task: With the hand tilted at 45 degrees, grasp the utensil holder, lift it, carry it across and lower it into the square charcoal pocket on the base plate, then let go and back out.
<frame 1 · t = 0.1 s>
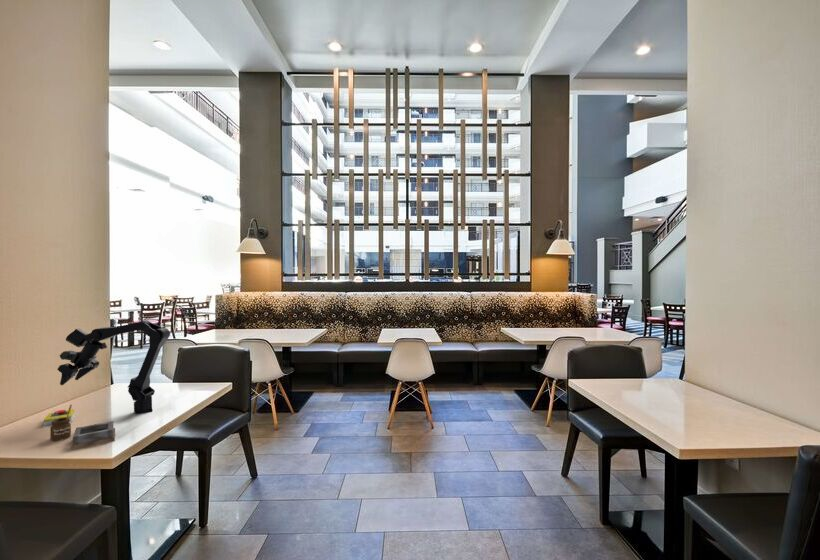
hand: (68, 382, 178), 15 cm above the table, tool tilted 35°, fingers open, 9 cm apart
emergency button: (59, 422, 171), on the table
pocket plate: (94, 439, 150), on the table
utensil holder: (61, 438, 152), on the table
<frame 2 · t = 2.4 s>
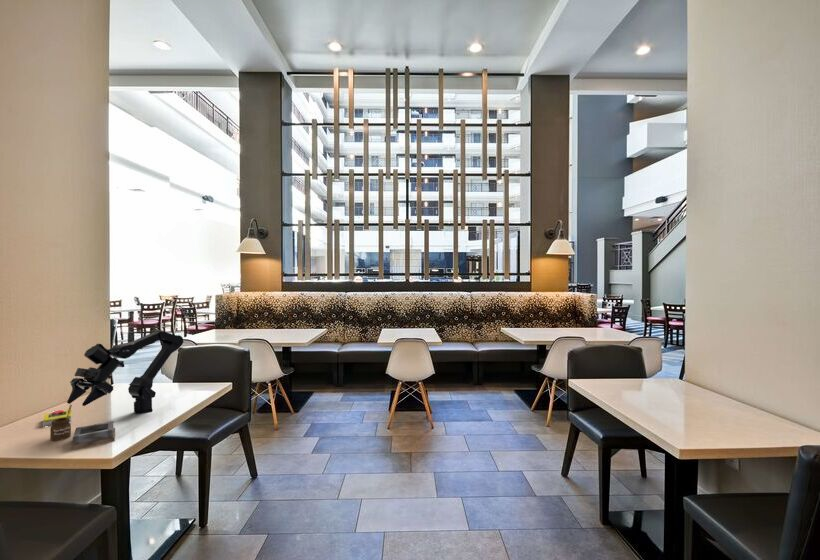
hand: (75, 404, 157), 11 cm above the table, tool tilted 45°, fingers open, 9 cm apart
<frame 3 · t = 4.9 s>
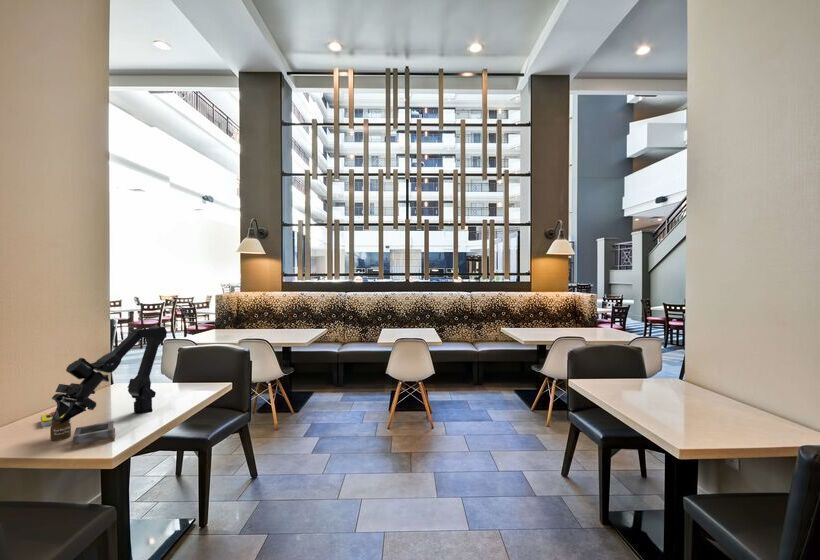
hand: (56, 421, 151), 7 cm above the table, tool tilted 45°, fingers closed on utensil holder, 5 cm apart
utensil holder: (61, 438, 152), on the table, touching gripper
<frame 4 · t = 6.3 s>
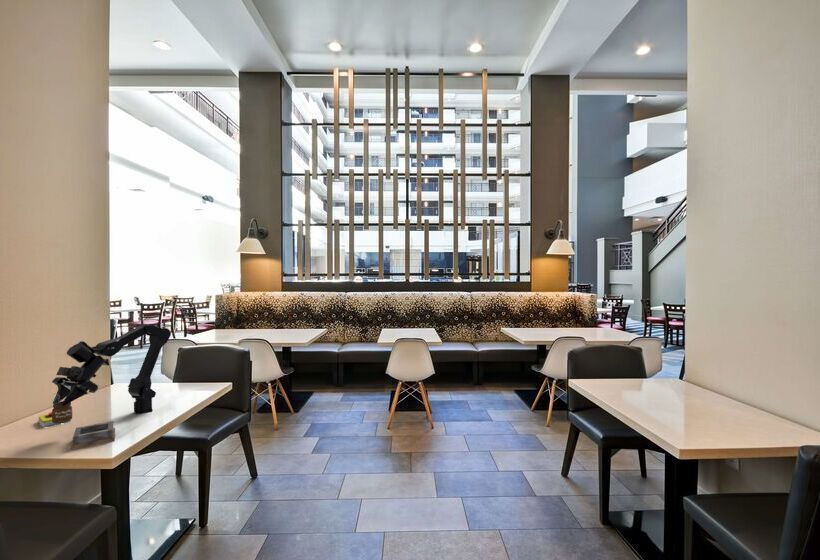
hand: (58, 404, 151), 13 cm above the table, tool tilted 45°, fingers closed on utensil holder, 5 cm apart
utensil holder: (62, 421, 152), point 6 cm above the table, touching gripper
when the fingers open (9 cm above the table, at t = 8.9 s): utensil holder stays where it is, resting on pocket plate.
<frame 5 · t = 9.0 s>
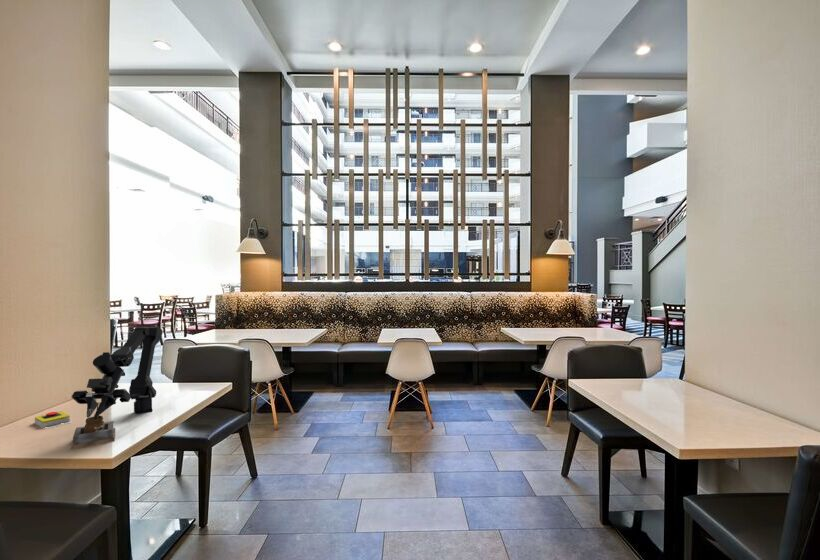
hand: (91, 417, 148), 9 cm above the table, tool tilted 45°
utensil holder: (94, 436, 150), point 1 cm above the table, touching pocket plate
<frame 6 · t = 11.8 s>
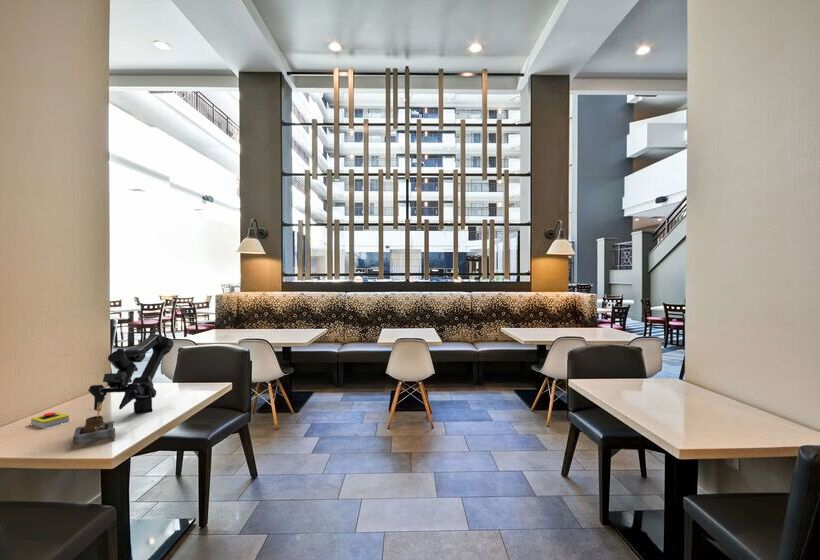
hand: (107, 409, 158), 9 cm above the table, tool tilted 45°, fingers open, 9 cm apart
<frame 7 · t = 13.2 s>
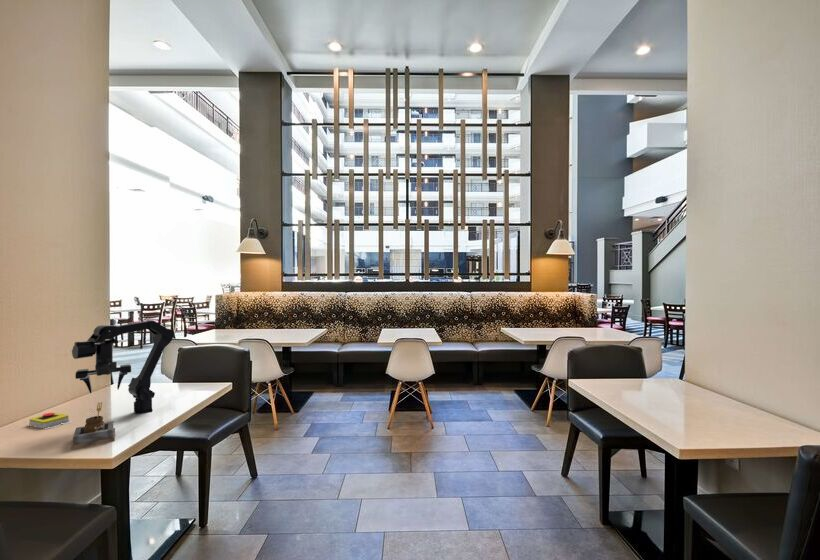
hand: (104, 391, 169), 13 cm above the table, tool pointing down, fingers open, 9 cm apart
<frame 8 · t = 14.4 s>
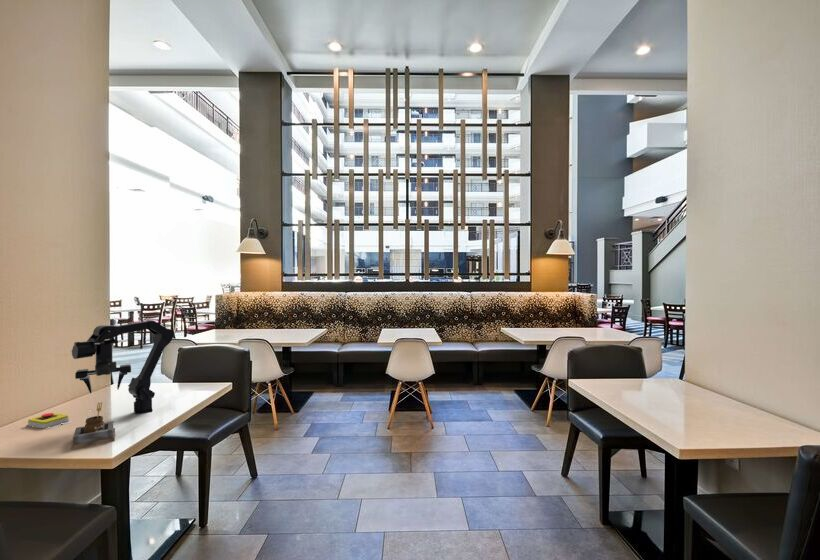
hand: (104, 391, 169), 13 cm above the table, tool pointing down, fingers open, 9 cm apart
at the end: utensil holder 0.1 cm off-centre on the pocket plate, point 1.0 cm above the pocket plate's base; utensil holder tilted 0°; the gripper is holding nothing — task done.
